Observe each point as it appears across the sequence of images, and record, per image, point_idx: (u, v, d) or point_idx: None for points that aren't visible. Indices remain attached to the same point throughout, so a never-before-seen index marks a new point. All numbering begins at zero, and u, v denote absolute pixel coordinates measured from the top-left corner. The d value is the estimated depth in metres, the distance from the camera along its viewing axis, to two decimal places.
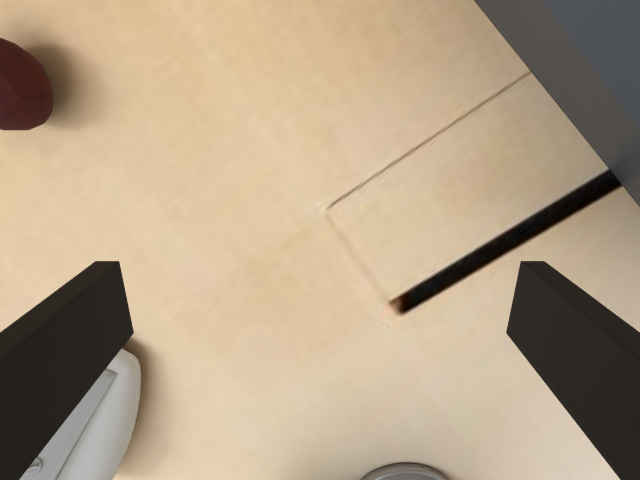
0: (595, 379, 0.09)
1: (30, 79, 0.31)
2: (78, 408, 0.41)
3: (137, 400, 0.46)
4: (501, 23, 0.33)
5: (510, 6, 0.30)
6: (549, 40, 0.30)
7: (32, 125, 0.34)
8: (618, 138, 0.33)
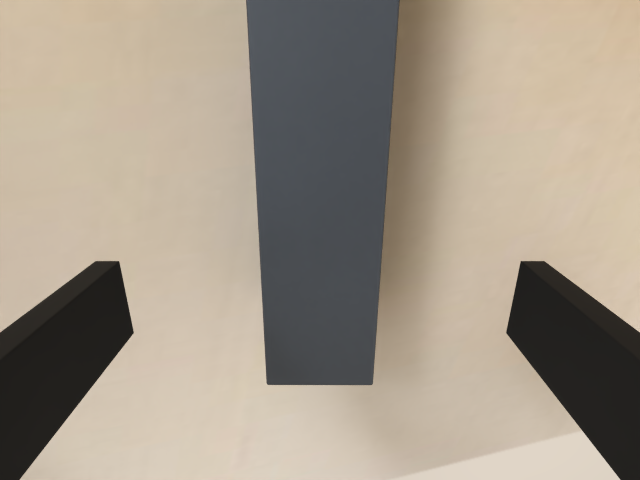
0: (594, 379, 0.09)
1: None
2: None
3: None
4: None
5: None
6: None
7: None
8: None
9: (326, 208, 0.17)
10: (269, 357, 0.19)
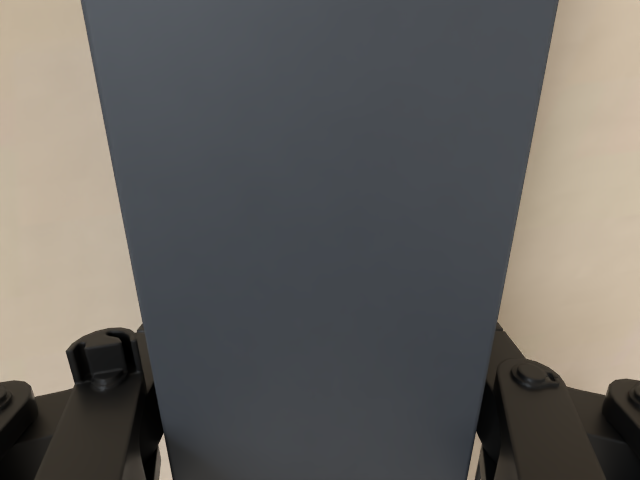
0: None
1: None
2: None
3: None
4: None
5: None
6: None
7: None
8: None
9: (332, 368, 0.06)
10: None
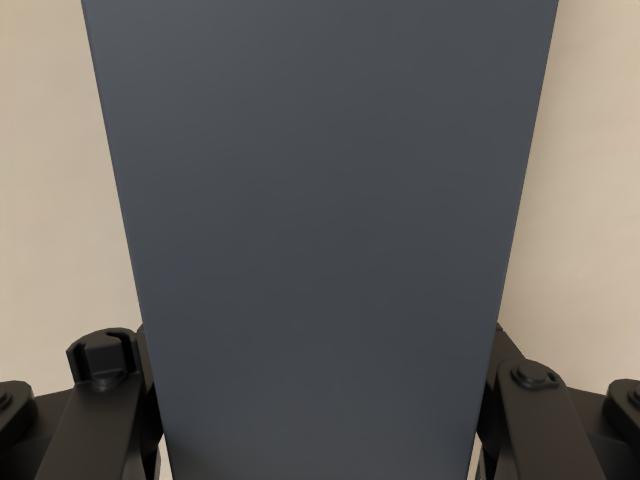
0: None
1: None
2: None
3: None
4: None
5: None
6: None
7: None
8: None
9: (333, 368, 0.06)
10: None
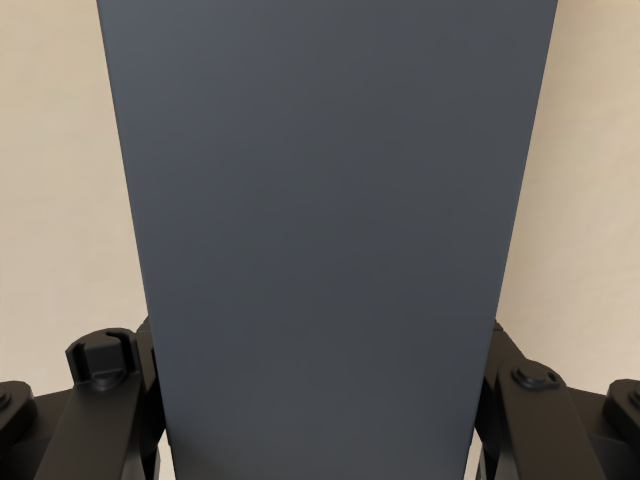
0: None
1: None
2: None
3: None
4: None
5: None
6: None
7: None
8: None
9: (334, 358, 0.06)
10: None
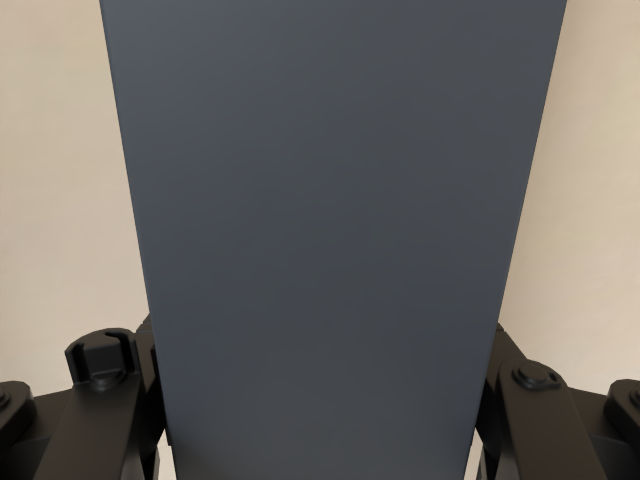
0: None
1: None
2: None
3: None
4: None
5: None
6: None
7: None
8: None
9: (336, 360, 0.06)
10: None
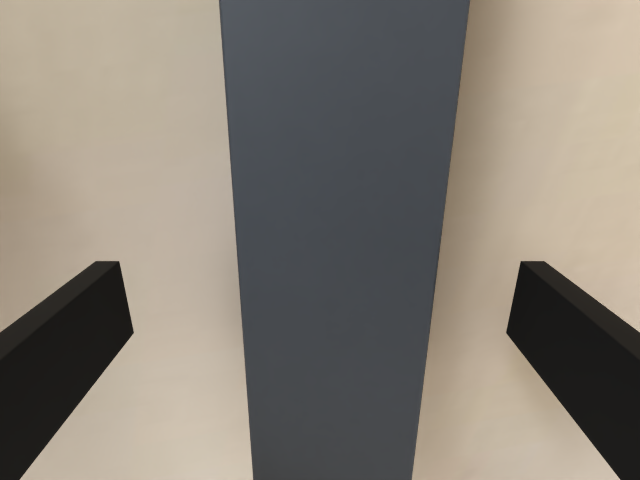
0: (594, 379, 0.09)
1: None
2: None
3: None
4: None
5: None
6: None
7: None
8: None
9: (345, 256, 0.11)
10: (257, 465, 0.13)
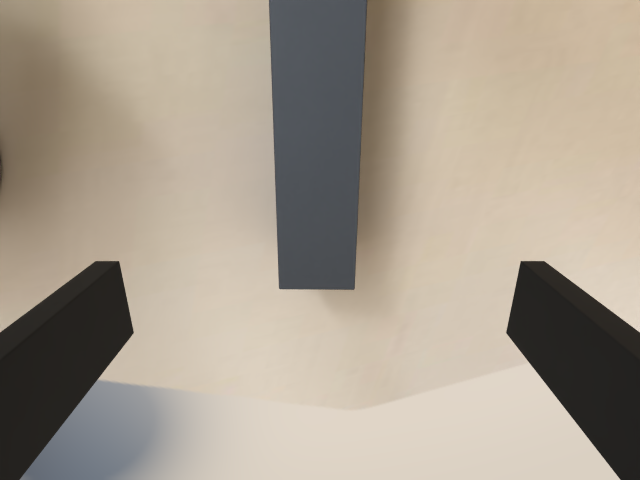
0: (594, 379, 0.09)
1: None
2: None
3: None
4: None
5: None
6: None
7: None
8: None
9: (320, 157, 0.25)
10: (281, 267, 0.28)
